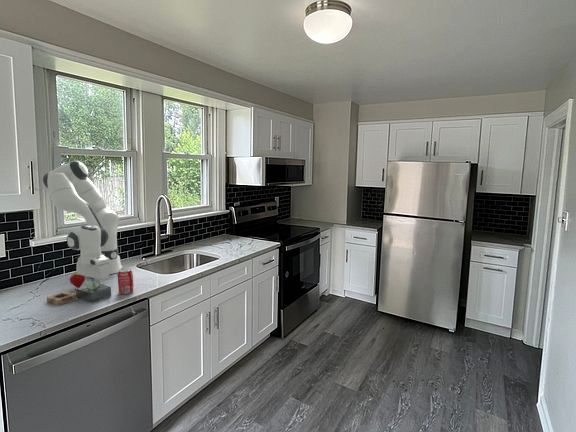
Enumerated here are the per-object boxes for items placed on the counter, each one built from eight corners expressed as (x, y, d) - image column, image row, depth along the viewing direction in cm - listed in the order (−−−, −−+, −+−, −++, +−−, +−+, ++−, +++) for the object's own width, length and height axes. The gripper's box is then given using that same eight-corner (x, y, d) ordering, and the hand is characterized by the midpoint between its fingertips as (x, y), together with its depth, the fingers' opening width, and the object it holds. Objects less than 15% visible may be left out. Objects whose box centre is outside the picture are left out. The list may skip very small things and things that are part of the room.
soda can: (128, 289, 176) (127, 267, 175) (136, 291, 173) (135, 269, 171) (115, 293, 170) (114, 270, 169) (123, 296, 167) (122, 273, 165)
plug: (88, 295, 163) (87, 278, 162) (94, 293, 166) (93, 276, 165) (92, 297, 162) (91, 279, 161) (98, 294, 165) (98, 277, 164)
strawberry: (67, 289, 174) (66, 271, 172) (81, 284, 181) (79, 267, 179) (75, 291, 172) (74, 272, 170) (88, 286, 179) (87, 268, 177)
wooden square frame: (47, 302, 157) (46, 297, 157) (65, 296, 165) (65, 291, 165) (57, 305, 154) (57, 300, 153) (76, 299, 161) (76, 294, 161)
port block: (76, 298, 162) (75, 288, 162) (95, 291, 171) (95, 282, 171) (91, 303, 157) (91, 292, 157) (111, 296, 166) (110, 286, 165)
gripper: (71, 256, 163) (73, 283, 165) (98, 262, 154) (100, 291, 156) (84, 254, 169) (86, 280, 171) (111, 259, 160) (112, 287, 162)
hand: (93, 285), depth 163 cm, fingers open, 4 cm apart
